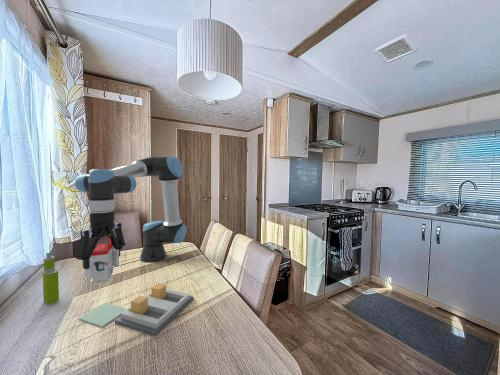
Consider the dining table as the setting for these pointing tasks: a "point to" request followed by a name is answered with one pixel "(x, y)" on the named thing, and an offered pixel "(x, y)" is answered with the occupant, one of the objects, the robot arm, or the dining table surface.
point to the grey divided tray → (156, 313)
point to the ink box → (102, 262)
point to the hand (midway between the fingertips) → (103, 270)
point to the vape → (50, 280)
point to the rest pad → (102, 314)
